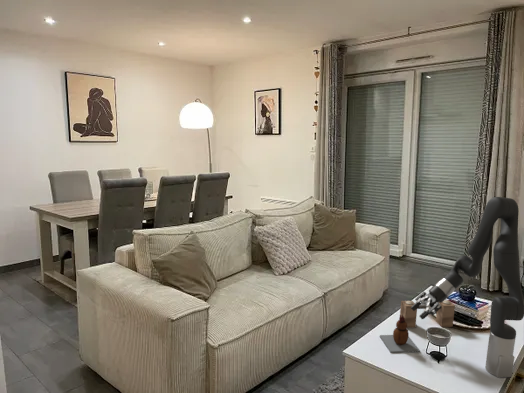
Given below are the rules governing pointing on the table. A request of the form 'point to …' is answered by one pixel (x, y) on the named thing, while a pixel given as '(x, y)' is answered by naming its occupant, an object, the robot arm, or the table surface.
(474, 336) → the table surface
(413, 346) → the slate mat
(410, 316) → the handrail
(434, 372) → the table surface
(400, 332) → the wooden figurine
